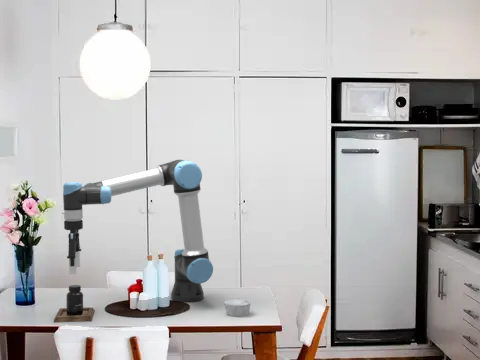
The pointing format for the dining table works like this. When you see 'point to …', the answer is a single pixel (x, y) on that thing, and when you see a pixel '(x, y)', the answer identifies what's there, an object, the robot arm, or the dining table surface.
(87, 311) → the walnut tray
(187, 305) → the dining table surface
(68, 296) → the supplement bottle
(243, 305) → the ramekin
